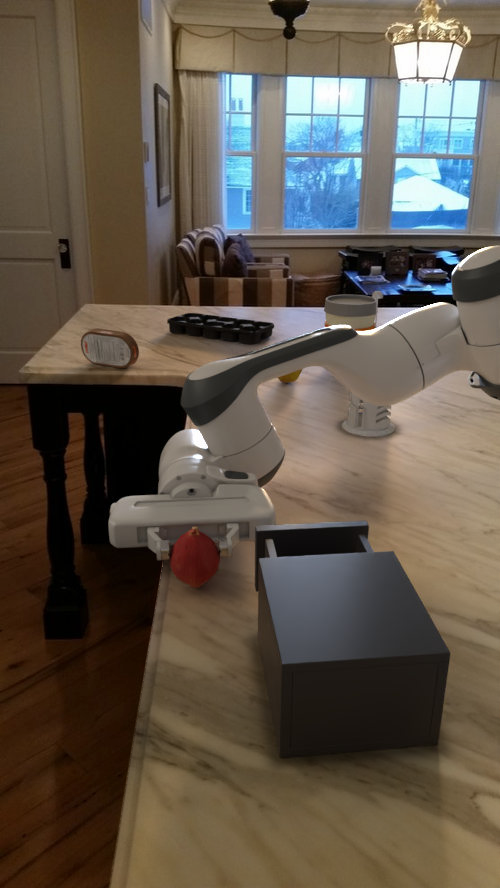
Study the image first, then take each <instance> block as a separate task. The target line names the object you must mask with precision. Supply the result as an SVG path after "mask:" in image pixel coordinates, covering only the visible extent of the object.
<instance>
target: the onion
mask: <svg viewBox="0 0 500 888" xmlns="http://www.w3.org/2000/svg"><path fill="white" fill-rule="evenodd" d="M168 561H169V562H168V563H169V568H170V569H171V571H172V574H173V575H174V576H175V578H176V579H177V580H179V581H180V582H182V583H183V584H185V585H188V586H190V587H191V588H194V589H196V588H200V587H202V586H203V585H204V584H206V583H207V582H208V581H209V580H211V579H212V578H213V577H214V576H215V575H216V573H217V571H218V569H219V567H220V563H221V557H220V556H219V547H218V546H217V543H215V542H214V541H213V540H212V539H211V538H210V537H209V536H207V535H206V534H205V533H203V532H200V531H199V530H198V527H192V528H191V530H189V531H188V532H186V533H184V534H182V535H181V536H180V537H179V539H178V540H177V541H176V542H175V544H174V545H172V546H171V549H170V560H168Z"/></svg>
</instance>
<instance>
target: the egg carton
mask: <svg viewBox="0 0 500 888" xmlns="http://www.w3.org/2000/svg"><path fill="white" fill-rule="evenodd" d="M166 324H168V329H169V332H170V333H173V334H186V335H188V336H193V337H201V336H203V338H207V339H212V340H216V339H218V340H219V339H221V341H226V342H239V343H241V344H247V345H251V344H252V345H253V344H257V343H260V342H261V340H265V339H268V338H270V337H272V335H273V329H274V328H275V323H273V322H271V321H270V322H269V321H263V320H262V321H260V320H253V319H246V318H238V317H230V316H229V317H228V316H221V315H215V314H214V315H213V314H207V313H206V314H205V313H199V312H187V313H183V314H179V315H175V316H173V317H170V318H167V320H166Z"/></svg>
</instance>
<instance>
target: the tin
mask: <svg viewBox="0 0 500 888" xmlns="http://www.w3.org/2000/svg"><path fill="white" fill-rule="evenodd" d="M80 348H81V353H82V355H83V356H84V358H85V360H87V361H89V362H90V363H91V364H93V365H97V366H104V367H111V368H117V369H126V368H128V367H130V366H133V365H135V364H136V363H137V361H138V360H139V356H140V349H139V345H138V343H137V340H135V338H134V337H133V336H132V335H130V334H129V333H128V332H125V331H119V330H113V329H106V328H98V327H95V328H92V329H90V330H88V331H86V332H85V333H84V334H83V335H82V336H81V338H80Z"/></svg>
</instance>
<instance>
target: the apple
mask: <svg viewBox="0 0 500 888" xmlns="http://www.w3.org/2000/svg"><path fill="white" fill-rule="evenodd" d="M302 372H303V369H301V370H298V371H295V372H292V373H289V374H286V375H283V376H281V377H278V378H277V379H278V380H279V382H282V383H285V384H288V383H293V382H296V381H297V380H298V379H299V377H300V375H301V373H302Z"/></svg>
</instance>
